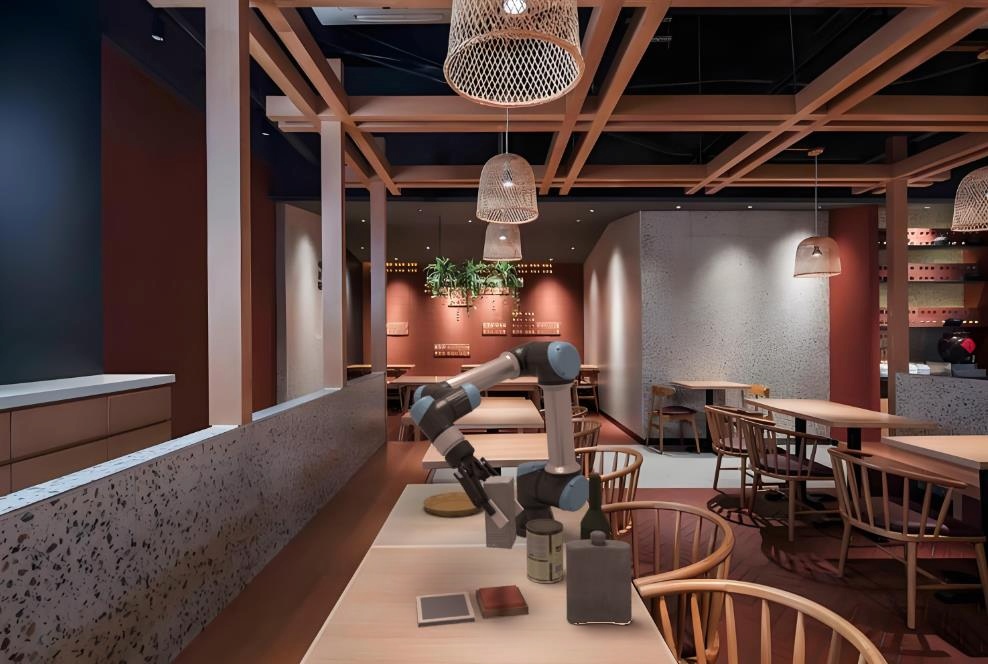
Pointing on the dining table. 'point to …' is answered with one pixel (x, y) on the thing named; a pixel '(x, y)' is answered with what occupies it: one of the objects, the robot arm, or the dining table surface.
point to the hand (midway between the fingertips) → (512, 518)
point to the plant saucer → (450, 504)
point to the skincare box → (503, 497)
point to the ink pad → (501, 601)
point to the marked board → (444, 609)
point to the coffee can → (544, 550)
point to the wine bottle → (594, 511)
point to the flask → (598, 580)
